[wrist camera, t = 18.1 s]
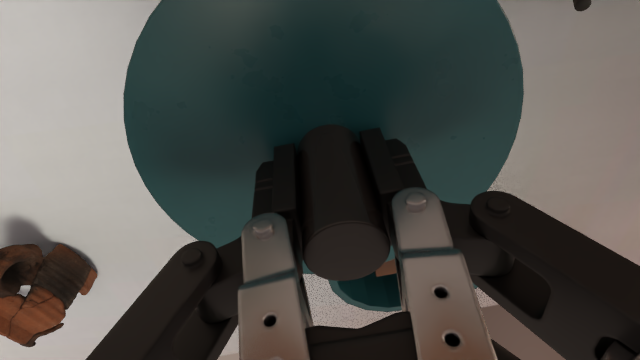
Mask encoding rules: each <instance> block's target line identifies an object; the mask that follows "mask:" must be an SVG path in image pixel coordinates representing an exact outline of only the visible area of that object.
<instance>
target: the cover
mask: <svg viewBox="0 0 640 360" xmlns="http://www.w3.org/2000/svg"><path fill="white" fill-rule="evenodd" d="M523 95H524V91H523V68H522V63H521V58H520V53H519V47H518V44H517V41H516V38H515V35H514V33H513V30H512V27H511V25H510V22H509V20H508V18H507V16H506V15H505V13H504V11H503V9H502V8H501V6H500V4H499V2H498V1H497V0H161V2H160V3H159V4H158V6H157V7H156V8H155V10H154V11H153V12H152V14H151V15H150V16H149V18H148V20H147V22H146V24H145V26H144V28H143V30H142V32H141V34H140V36H139V38H138V39H137V41H136V44H135V47H134V50H133V53H132V56H131V59H130V62H129V66H128V69H127V75H126V82H125V89H124V123H125V129H126V135H127V141H128V145H129V148H130V151H131V154H132V157H133V160H134V163H135V166H136V168H137V170H138V172H139V174H140V176H141V178H142V180H143V182H144V184H145V186H146V187H147V189H148V190H149V192H150V193H151V195H152V196H153V198H154V199H155V201H156V202H157V203H158V204H159V206H160V207H161V208H162V209H163V210H164V211H165V212H166V213H167V215H168V216H169V217H170V218H171V219H172V220H173V221H174V222H176V223H177V224H178V225H179V226H180V227H181V228H182V229H183V230H185V231H186V232H187V233H188V234H190V235H191V236H193V237H194V238H196V239H197V240H198V241H208V242H210V243H212V244H213V245H214V246H215V247H216V248H218V247H221V246H223V245H225V244H228V243H230V242H232V241H234V240H236V239H238V238H239V237H240V236H241V232H242V229H243V227H244V225H245V224H246V223H247V222H248V221H249V220H250V219H252V209H253V198H254V191H255V190H254V188H255V178H256V171H257V170H258V168H259V167H260V165H261V164H262V162H268V161H273V159H274V147H275V146H280V145H286V144H291V143H294V145H295V148H296V152H297V156H298V174H299V193H300V212H301V235H302V254H303V260H304V261H303V274H316V275H317V276H319V277H321V278H325V279H328V280H334V281H348V280H354V279H358V278H362V277H364V276H367V275H369V274H371V273H373V272H374V271H376V270H377V269H379V268H380V267H381V266H382V265H383V264H384V262H387V261H390V260H392V259H395V253H394V250H393V246H390V240H389V237H388V233H387V230H386V227H385V223H384V220H383V217H382V214H381V211H380V208H379V204H378V201H377V198H376V194H375V191H374V188H373V184H372V181H371V178H370V175H369V171H368V168H367V165H366V161H365V158H364V155H363V152H362V148H361V144H360V135H359V131H363V130H368V129H373V128H380V129H381V132H382V134H383V137H384V139H385V140H390V139H395V138H397V139H398V140H400V141H401V142H402V143H404V144H405V145H406V146H407V148H408V150H409V152H410V156H411V157H412V159H413V161H414V163H415V165H416V167H417V169H418V171H419V173H420V175H421V177H422V179H423V181H424V184H425V186H426V188H427V189H428V190H430V191H432V192H434V193H435V194H436V195H437V196H438V197H439V199H440V200H442V201H445V202H449V203H458V204H471V201H472V199H473V198H474V197H475V196H476V195H478V194H480V193H483V192H486V191H487V190H488V189H489V187H490V186H491V185H492V183H493V182H494V180H495V179H496V178H497V176H498V174H499V172H500V170H501V169H502V167H503V165H504V163H505V162H506V160H507V158H508V155H509V153H510V150H511V148H512V145H513V143H514V140H515V138H516V134H517V130H518V126H519V122H520V119H521V112H522V103H523Z"/></svg>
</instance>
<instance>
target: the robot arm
mask: <svg viewBox="0 0 640 360" xmlns="http://www.w3.org/2000/svg"><path fill="white" fill-rule="evenodd" d="M359 135H360V144H361V148H362V152H363V155H364V158H365V161H366V165H367V168H368V171H369V175H370V178H371V181H372V184H373V188H374V191H375V194H376V198H377V201H378V204H379V208H380V211H381V214H382V217H383V220H384V223H385V227H386V230H387V233H388V237H389V240H390V246H393V250H394V253H395V265H396V272H397V279H398V286H399V293H400V300H401V307H402V312H398V313H395V314H392V315H390V316H388V317H385V318H383V319H381V320H379V321H376V322H374V323H372V324H369V325H367V326H365V327H362V328H358V329H353V328H341V327H329V326H314V325H313V320H312V315H311V311H310V306H309V301H308V296H307V291H306V286H305V282H304V278H303V261H304V260H303V254H302V235H301V212H300V193H299V174H298V156H297V152H296V148H295V145H294V143H291V144H286V145H280V146H275V147H274V159H273V161H268V162H262V164H261V165H260V167H259V168H258V170H257V171H256V178H255V188H254V190H255V191H254V198H253V209H252V219H250V220H249V221H248V222H247V223H246V224H245V225H244V227H243V229H242V232H241V236H240V237H239V238H238V239H236V240H234V241H232V242H230V243H228V244H225V245H223V246H221V247H218V248H216V247H215V246H214V245H213V244H212V243H210V242H208V241H196V242H192V243H190V244H187V245H185V246H184V247H182V248H181V249H180V250H178V251H177V252H176V253H175V254H174V255H173V257H172V258H171V259H170V260H169V261H168V263H167V264H166V265H165V266H164V267H163V269H162V270H161V271H160V272H159V273H158V274H157V276H156V277H155V278H154V279H153V280H152V282H151V283H150V284H149V285H148V286H147V288H146V289H145V290H144V291H143V292H142V293H141V295H140V296H139V297H138V298H137V299H136V301H135V302H134V303H133V304H132V305H131V306H130V308H129V309H128V310H127V311H126V312H125V314H124V315H123V316H122V317H121V318H120V320H119V321H118V322H117V323H116V324H115V325H114V327H113V328H112V329H111V330H110V331H109V333H108V334H107V335H106V336H105V337H104V339H103V340H102V341H101V342H100V343H99V344H98V346H97V347H96V348H95V349H94V350H93V352H92V353H91V354H90V355H89V356H88V358H87V359H86V360H217V359H218V357H219V356H220V354H221V352H222V350H223V349H224V347H225V345H226V344H227V342H228V340H229V339H230V337H231V335H232V334H233V332H234V330H235V328H236V327H237V325H238V326H239V357H240V358H239V359H240V360H520V359H519V358H518V357H516V356H515V355H513V354H512V353H511V352H509V351H508V350H506V349H505V348H504V347H502V346H501V345H499V344H498V343H497V342H495V341H494V340H492V339H491V338H490V335H489V332H488V329H487V326H486V323H485V320H484V317H483V314H482V311H481V307H480V304H479V301H478V298H477V295H476V292H475V289H474V286H473V283H474V284H475V285H476V286H477V287H479V288H480V289H481V290H482V291H483V292H485V293H486V294H487V295H488V296H489V297H491V298H492V299H493V300H494V301H496V302H497V303H498V304H499V305H500V306H502V307H503V308H504V309H506V311H508V312H509V313H511V314H512V315H513V316H514V317H515V318H516V319H517V320H519V321H520V322H521V323H522V324H524V325H525V326H526V327H527V328H528V329H530V330H531V331H532V332H533V333H534V334H536V335H537V336H538V337H539V338H541V339H542V340H543V341H544V342H545V343H547V344H548V345H549V346H550V347H552V348H553V349H554V350H555V351H556V352H557V353H559V354H560V355H561V356H562V357H564V358H565V359H566V360H640V266H639V265H637V264H635V263H633V262H631V261H630V260H628V259H626V258H624V257H622V256H621V255H619V254H617V253H615V252H613V251H612V250H610V249H608V248H606V247H605V246H603V245H601V244H599V243H597V242H596V241H594V240H592V239H590V238H588V237H587V236H585V235H583V234H581V233H580V232H578V231H576V230H574V229H572V228H571V227H569V226H567V225H565V224H563V223H562V222H560V221H558V220H556V219H554V218H553V217H551V216H549V215H547V214H546V213H544V212H542V211H540V210H538V209H537V208H535V207H533V206H531V205H529V204H528V203H526V202H524V201H522V200H521V199H519V198H517V197H515V196H513V195H511V194H508V193H505V192H500V191H487V192H483V193H480V194H478V195H476V196H475V197H474V198H473V199H472V201H471V204H458V203H449V202H445V201H442V200H440V199H439V197H438V196H437V195H436V194H435V193H434V192H432V191H430V190H428V189H427V188H426V186H425V184H424V181H423V179H422V177H421V175H420V173H419V171H418V169H417V167H416V165H415V163H414V161H413V159H412V157H411V156H410V152H409V150H408V148H407V146H406V145H405V144H404V143H402V142H401V141H400V140H398V139H397V138H395V139H390V140H385V139H384V137H383V134H382V132H381V129H380V128H373V129H368V130H363V131H359Z"/></svg>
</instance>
